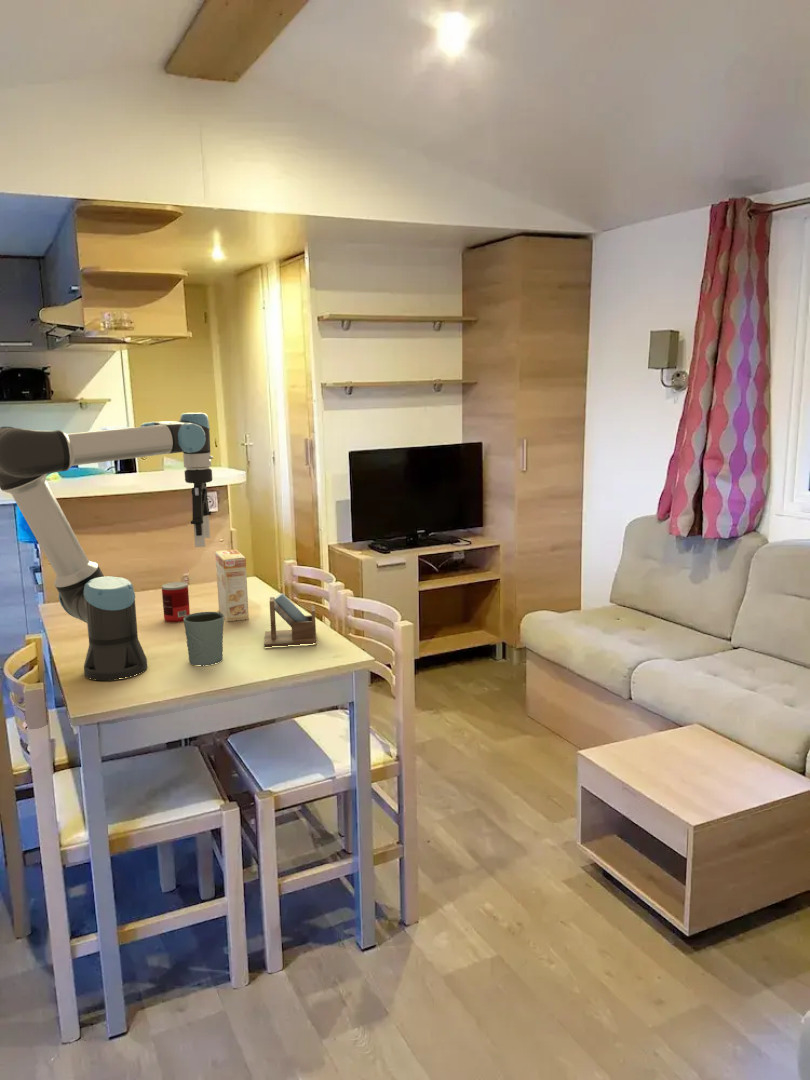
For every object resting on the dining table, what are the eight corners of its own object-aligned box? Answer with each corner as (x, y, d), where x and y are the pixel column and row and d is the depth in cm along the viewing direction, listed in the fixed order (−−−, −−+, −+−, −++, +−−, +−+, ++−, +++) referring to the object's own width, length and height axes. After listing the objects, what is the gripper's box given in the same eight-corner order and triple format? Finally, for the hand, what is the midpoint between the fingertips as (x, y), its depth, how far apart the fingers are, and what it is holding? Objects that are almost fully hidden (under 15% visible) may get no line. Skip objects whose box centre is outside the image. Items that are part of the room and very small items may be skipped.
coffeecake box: (249, 619, 249) (246, 557, 246) (226, 622, 247) (222, 559, 243) (240, 607, 263) (236, 548, 259) (218, 610, 260) (214, 550, 257)
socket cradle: (316, 645, 223) (314, 602, 221) (264, 648, 221) (262, 605, 219) (315, 632, 235) (313, 591, 232) (265, 635, 233) (263, 594, 231)
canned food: (193, 615, 254) (191, 581, 252) (184, 623, 246) (182, 588, 244) (170, 615, 255) (167, 581, 253) (160, 622, 247) (157, 587, 245)
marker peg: (312, 624, 227) (283, 593, 224) (304, 632, 226) (275, 601, 223) (311, 622, 230) (282, 592, 227) (302, 630, 229) (273, 600, 227)
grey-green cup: (180, 666, 208) (177, 621, 206) (195, 653, 218) (192, 610, 216) (218, 667, 207) (215, 622, 205) (231, 654, 217) (229, 611, 214)
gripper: (207, 472, 217) (212, 550, 221) (215, 463, 241) (219, 533, 245) (178, 473, 216) (183, 551, 220) (189, 464, 240) (194, 534, 244)
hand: (202, 542), depth 232 cm, fingers open, 13 cm apart
